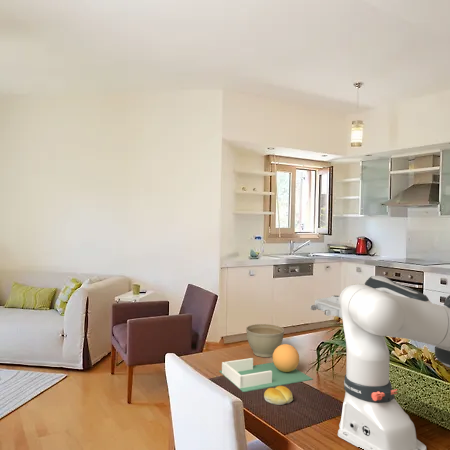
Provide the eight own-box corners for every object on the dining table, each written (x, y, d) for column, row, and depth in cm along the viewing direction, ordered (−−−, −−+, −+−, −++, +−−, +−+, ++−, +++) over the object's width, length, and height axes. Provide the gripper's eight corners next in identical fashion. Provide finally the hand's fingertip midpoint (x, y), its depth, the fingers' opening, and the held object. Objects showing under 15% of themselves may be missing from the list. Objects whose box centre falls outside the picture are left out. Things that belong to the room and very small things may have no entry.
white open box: (271, 382, 142) (272, 371, 142) (239, 388, 137) (240, 376, 137) (251, 368, 156) (251, 357, 156) (221, 373, 151) (222, 362, 151)
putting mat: (312, 379, 146) (312, 378, 146) (243, 392, 135) (243, 391, 135) (282, 361, 164) (282, 360, 164) (219, 371, 153) (219, 370, 153)
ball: (304, 373, 151) (304, 347, 151) (281, 377, 147) (281, 350, 147) (289, 365, 160) (289, 339, 160) (267, 368, 156) (267, 342, 156)
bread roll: (259, 397, 131) (259, 385, 131) (283, 393, 135) (283, 381, 135) (272, 408, 124) (273, 395, 124) (297, 403, 128) (297, 390, 128)
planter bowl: (246, 360, 166) (246, 333, 166) (245, 347, 182) (245, 323, 182) (285, 361, 165) (286, 334, 165) (281, 348, 181) (282, 324, 181)
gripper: (365, 320, 154) (335, 324, 149) (331, 309, 173) (304, 312, 168) (365, 304, 154) (335, 307, 149) (331, 294, 173) (303, 297, 167)
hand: (318, 310), depth 158 cm, fingers open, 8 cm apart
